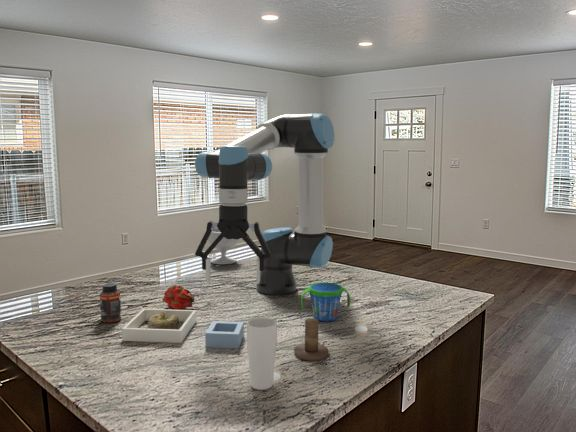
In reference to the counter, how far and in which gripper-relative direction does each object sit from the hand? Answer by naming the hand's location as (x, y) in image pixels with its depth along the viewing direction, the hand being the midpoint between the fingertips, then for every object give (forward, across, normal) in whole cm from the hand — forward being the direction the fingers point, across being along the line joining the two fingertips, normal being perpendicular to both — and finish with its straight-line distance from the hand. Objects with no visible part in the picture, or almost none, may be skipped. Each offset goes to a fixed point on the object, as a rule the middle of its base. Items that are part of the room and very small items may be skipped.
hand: (233, 282), depth 133 cm
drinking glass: (+18, +10, -24) cm, 31 cm away
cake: (+18, -22, +10) cm, 30 cm away
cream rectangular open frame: (+17, -22, +7) cm, 29 cm away
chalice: (+16, -17, +91) cm, 94 cm away
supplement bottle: (+17, -40, +15) cm, 46 cm away
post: (+17, +21, -6) cm, 28 cm away
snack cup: (+17, +26, +21) cm, 38 cm away
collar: (+17, -2, +1) cm, 17 cm away
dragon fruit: (+17, -21, +26) cm, 38 cm away
